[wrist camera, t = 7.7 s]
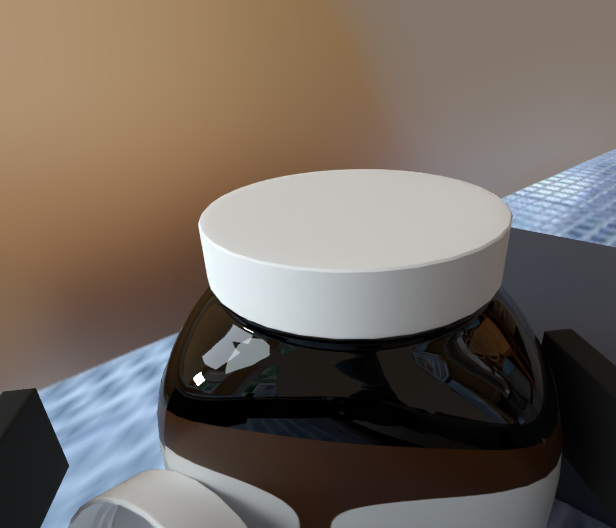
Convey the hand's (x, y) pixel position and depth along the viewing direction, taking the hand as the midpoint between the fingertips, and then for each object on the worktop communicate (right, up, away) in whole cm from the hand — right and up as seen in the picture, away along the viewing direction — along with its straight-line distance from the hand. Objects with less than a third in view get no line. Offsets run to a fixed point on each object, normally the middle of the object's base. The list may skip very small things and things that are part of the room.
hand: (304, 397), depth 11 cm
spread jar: (0, -7, +2) cm, 7 cm away
